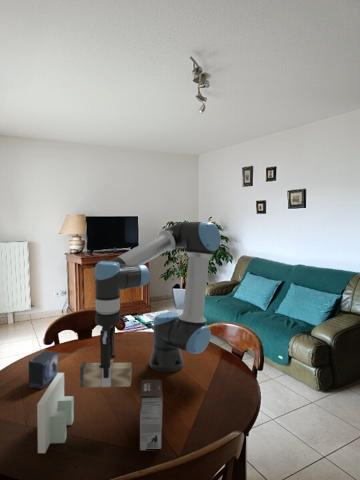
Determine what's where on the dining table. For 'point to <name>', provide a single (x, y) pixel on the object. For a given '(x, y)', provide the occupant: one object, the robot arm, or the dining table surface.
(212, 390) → the dining table surface
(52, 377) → the small box
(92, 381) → the rail
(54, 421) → the base plate with tabs
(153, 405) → the coffee box
